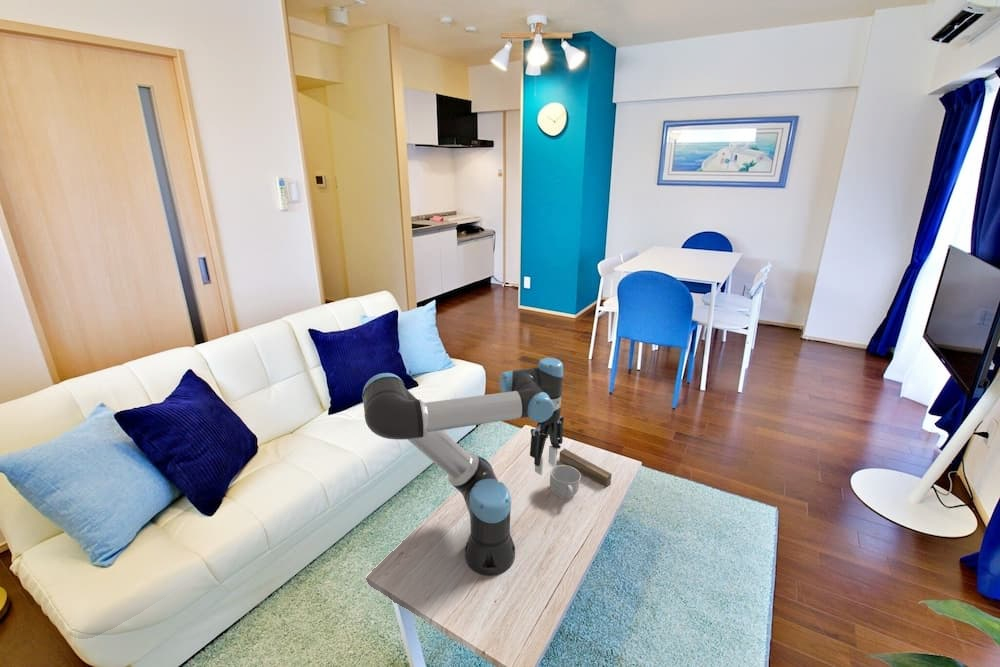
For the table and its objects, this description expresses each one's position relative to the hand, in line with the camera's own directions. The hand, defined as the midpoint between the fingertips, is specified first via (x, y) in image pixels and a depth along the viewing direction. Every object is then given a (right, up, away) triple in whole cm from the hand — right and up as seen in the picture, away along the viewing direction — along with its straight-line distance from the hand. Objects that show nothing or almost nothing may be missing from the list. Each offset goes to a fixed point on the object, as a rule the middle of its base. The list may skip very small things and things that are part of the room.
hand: (545, 468), depth 154 cm
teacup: (+8, -13, +13) cm, 21 cm away
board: (+17, -9, +25) cm, 32 cm away
